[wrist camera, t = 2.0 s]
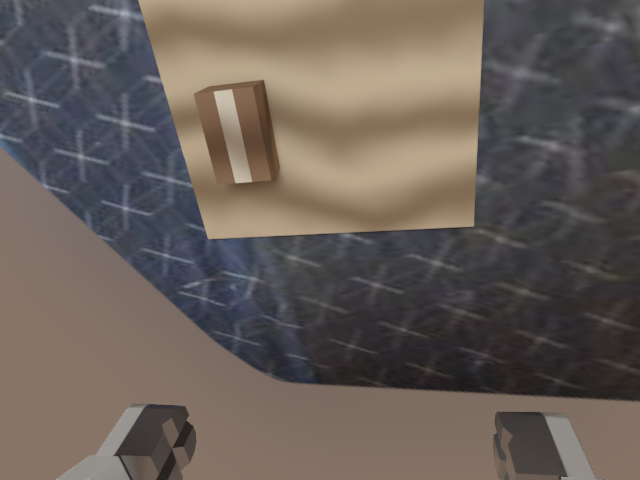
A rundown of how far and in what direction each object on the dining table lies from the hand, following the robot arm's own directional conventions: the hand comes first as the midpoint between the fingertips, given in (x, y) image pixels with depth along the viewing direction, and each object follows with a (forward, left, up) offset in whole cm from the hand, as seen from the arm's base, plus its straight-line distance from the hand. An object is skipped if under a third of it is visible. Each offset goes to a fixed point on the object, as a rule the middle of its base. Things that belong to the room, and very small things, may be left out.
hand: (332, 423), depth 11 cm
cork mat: (-2, -4, -27) cm, 27 cm away
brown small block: (-2, -10, -26) cm, 28 cm away
